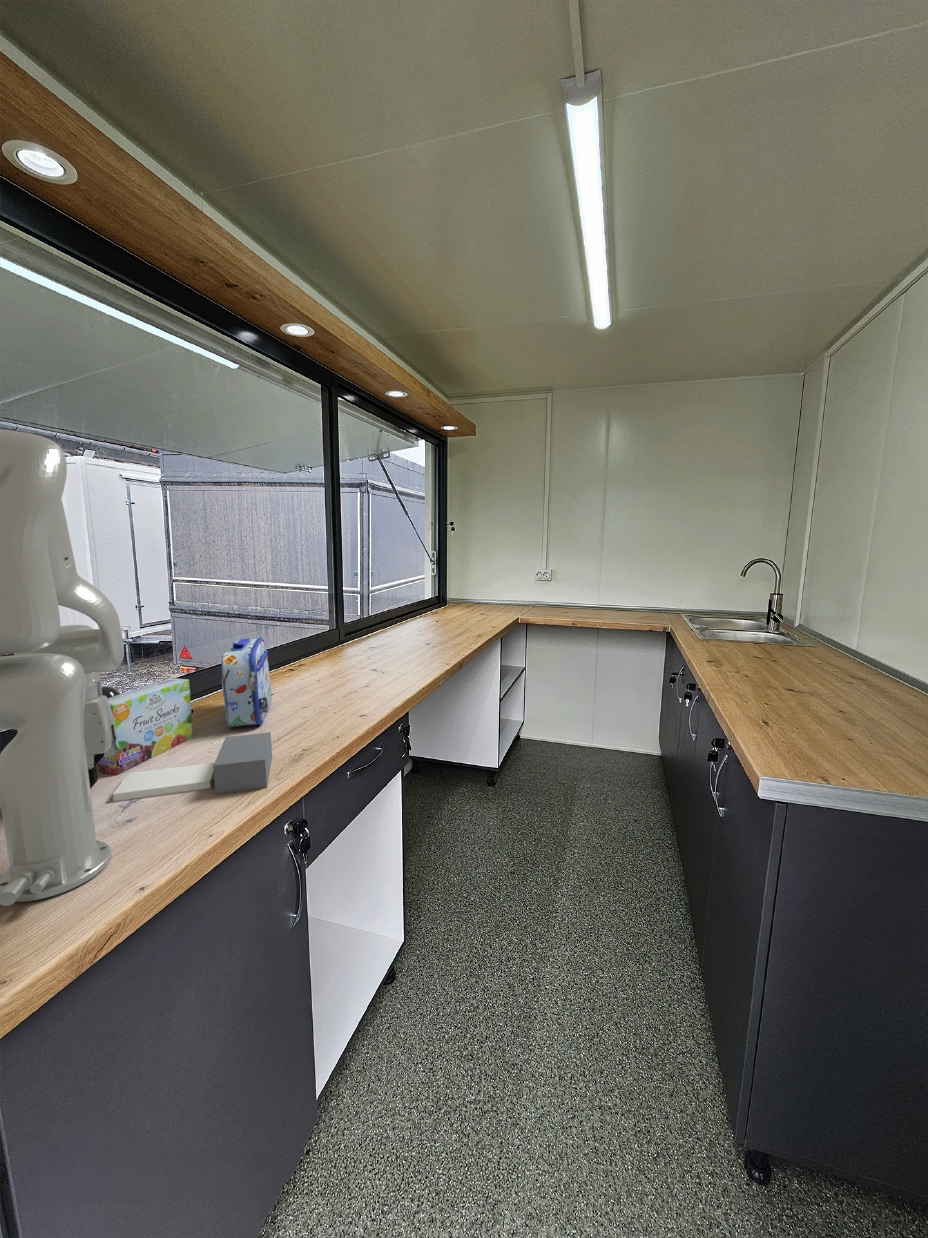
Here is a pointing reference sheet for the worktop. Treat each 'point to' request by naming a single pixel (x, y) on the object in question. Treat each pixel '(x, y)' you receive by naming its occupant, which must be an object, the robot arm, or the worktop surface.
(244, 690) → the lunch box
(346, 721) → the worktop surface
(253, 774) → the gray block
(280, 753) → the worktop surface
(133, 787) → the cutting board
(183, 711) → the snack box
